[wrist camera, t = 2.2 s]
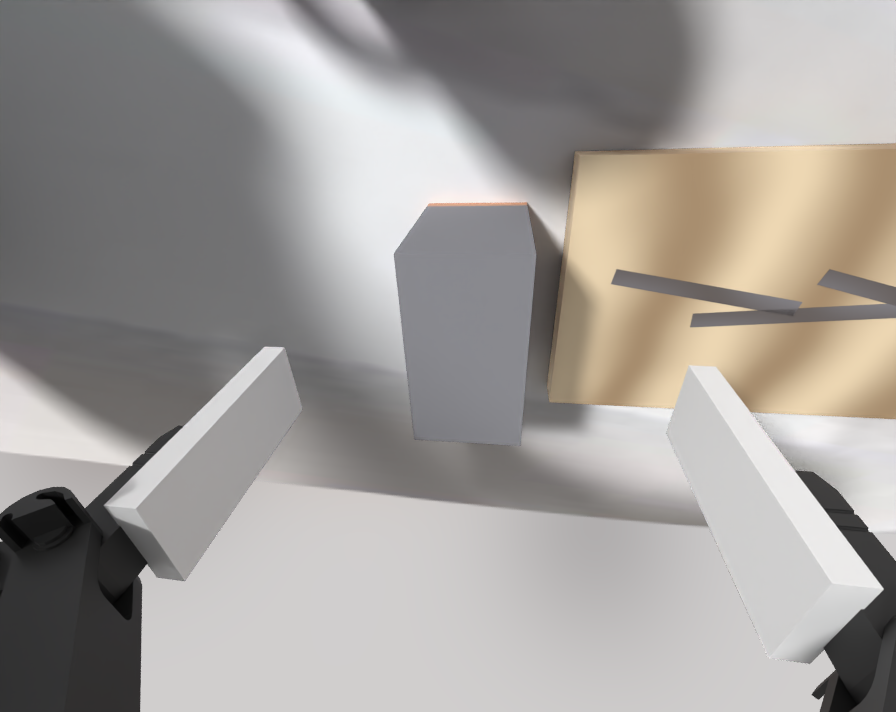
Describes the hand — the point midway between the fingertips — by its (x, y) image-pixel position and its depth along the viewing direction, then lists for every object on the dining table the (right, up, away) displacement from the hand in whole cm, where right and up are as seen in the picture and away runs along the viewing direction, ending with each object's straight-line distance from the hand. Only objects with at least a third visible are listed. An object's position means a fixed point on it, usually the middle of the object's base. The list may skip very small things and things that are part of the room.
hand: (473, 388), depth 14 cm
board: (+14, +4, +5) cm, 16 cm away
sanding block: (+1, +5, +7) cm, 8 cm away
